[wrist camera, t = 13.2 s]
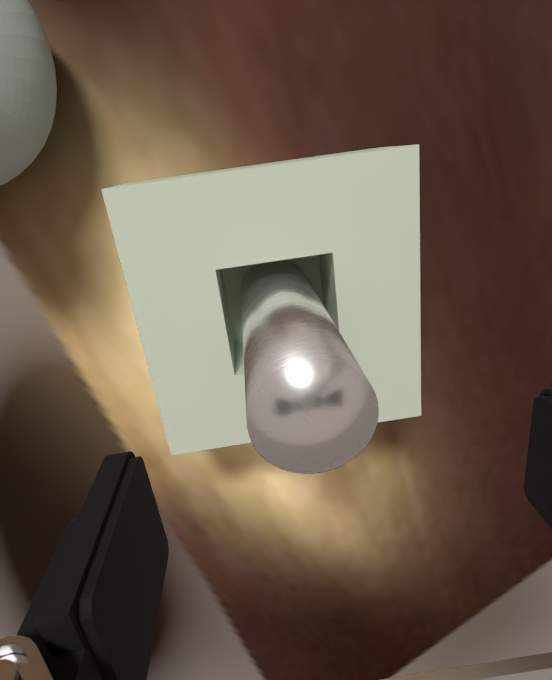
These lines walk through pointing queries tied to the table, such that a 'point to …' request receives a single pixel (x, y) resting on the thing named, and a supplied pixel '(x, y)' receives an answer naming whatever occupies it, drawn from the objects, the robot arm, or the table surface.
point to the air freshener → (24, 87)
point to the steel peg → (300, 375)
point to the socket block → (267, 246)
